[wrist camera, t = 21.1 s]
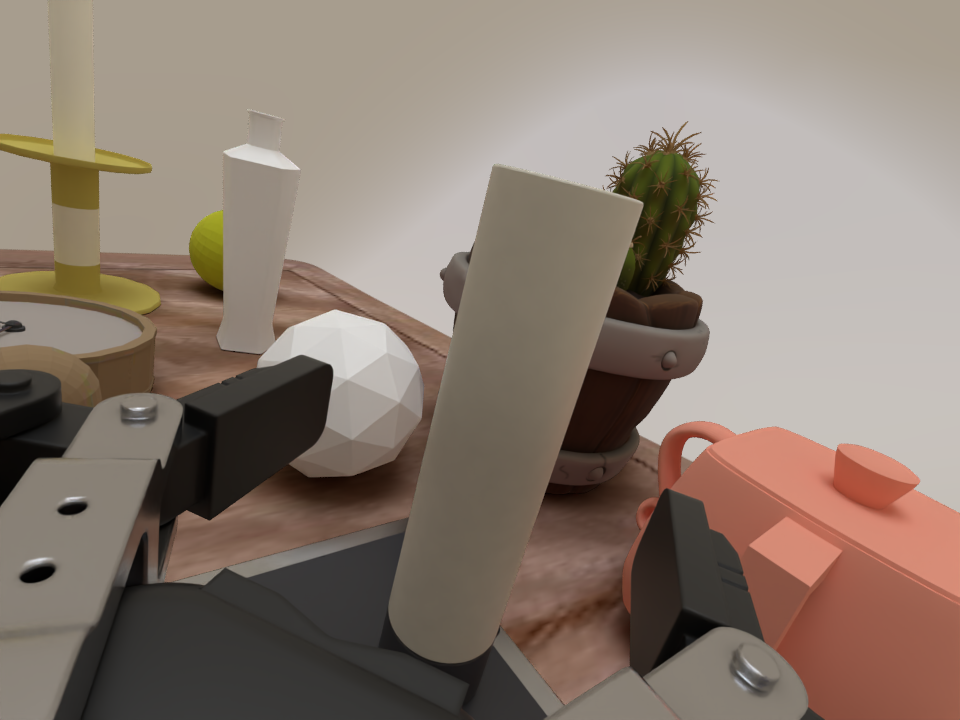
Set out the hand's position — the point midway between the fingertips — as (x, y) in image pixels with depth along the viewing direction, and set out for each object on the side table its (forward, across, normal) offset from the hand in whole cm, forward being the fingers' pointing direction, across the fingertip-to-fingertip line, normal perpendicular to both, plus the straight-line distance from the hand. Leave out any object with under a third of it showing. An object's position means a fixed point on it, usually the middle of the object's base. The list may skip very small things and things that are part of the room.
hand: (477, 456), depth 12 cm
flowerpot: (+18, 0, +9) cm, 20 cm away
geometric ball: (+10, +9, +9) cm, 16 cm away
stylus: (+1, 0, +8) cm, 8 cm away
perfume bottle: (+18, +21, +9) cm, 29 cm away
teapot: (+8, -12, +9) cm, 17 cm away
